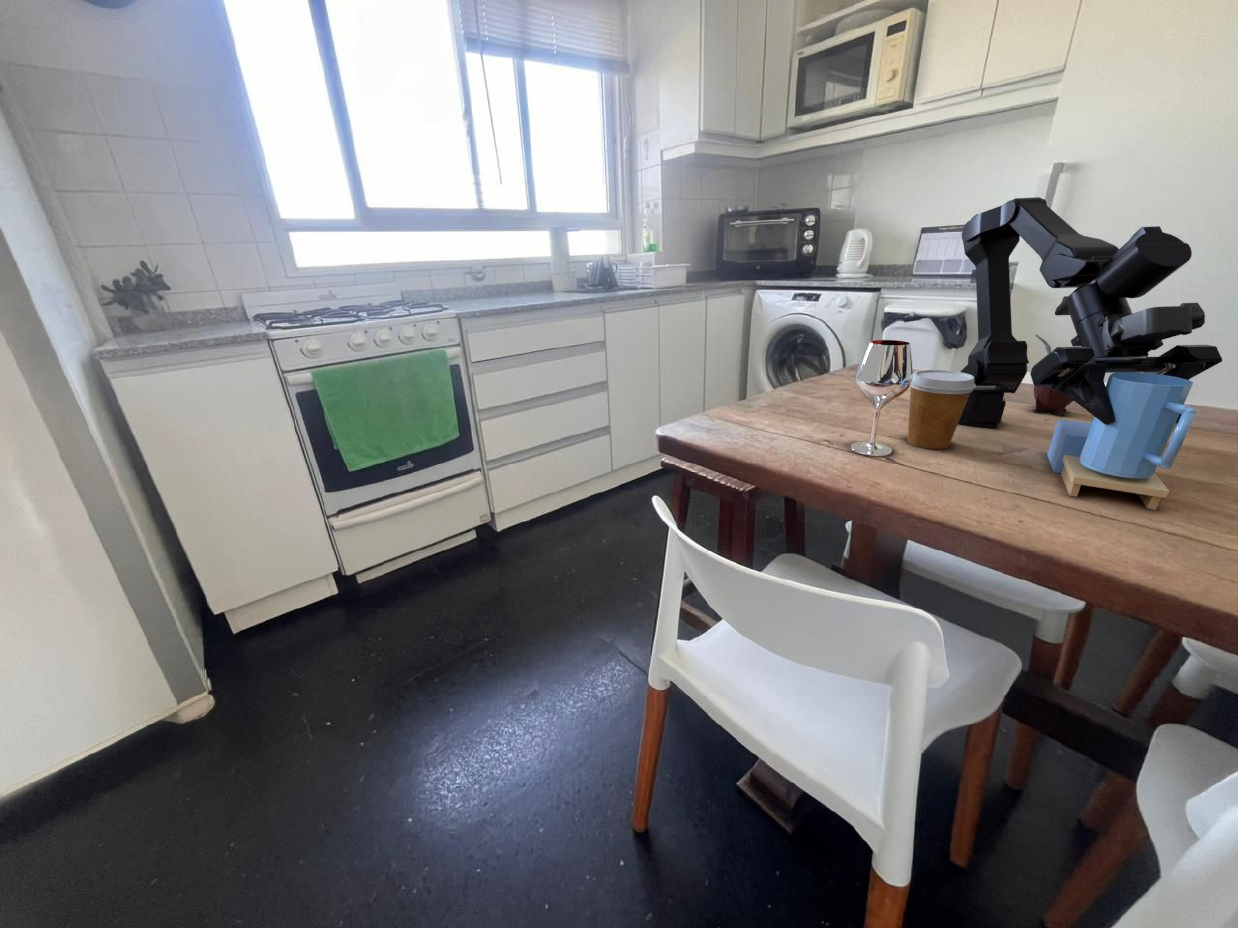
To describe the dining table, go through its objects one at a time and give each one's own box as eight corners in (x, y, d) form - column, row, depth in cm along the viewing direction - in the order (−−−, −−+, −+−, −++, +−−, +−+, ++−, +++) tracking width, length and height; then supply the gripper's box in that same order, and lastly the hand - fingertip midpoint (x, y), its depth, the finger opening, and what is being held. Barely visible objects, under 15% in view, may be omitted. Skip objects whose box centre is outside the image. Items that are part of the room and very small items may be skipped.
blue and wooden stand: (1061, 495, 67) (1076, 454, 64) (1047, 454, 80) (1058, 419, 77) (1165, 513, 61) (1185, 469, 59) (1131, 466, 74) (1147, 429, 72)
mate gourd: (1081, 416, 96) (1108, 338, 91) (1040, 417, 97) (1064, 339, 91) (1051, 405, 103) (1074, 332, 98) (1013, 406, 104) (1034, 334, 98)
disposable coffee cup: (955, 437, 88) (972, 370, 84) (964, 455, 80) (983, 383, 76) (895, 431, 92) (908, 367, 87) (898, 448, 84) (912, 379, 79)
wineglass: (895, 461, 79) (917, 348, 72) (840, 453, 83) (857, 345, 76) (899, 445, 85) (920, 340, 78) (848, 438, 89) (864, 337, 82)
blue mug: (1065, 456, 69) (1095, 372, 65) (1121, 457, 69) (1155, 371, 64) (1127, 488, 60) (1167, 392, 55) (1193, 489, 59) (1239, 392, 55)
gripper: (1074, 281, 61) (1116, 391, 55) (1242, 277, 59) (1303, 390, 53) (1015, 336, 71) (1045, 433, 66) (1156, 334, 69) (1200, 433, 64)
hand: (1142, 423), depth 62 cm, fingers closed on blue mug, 7 cm apart
